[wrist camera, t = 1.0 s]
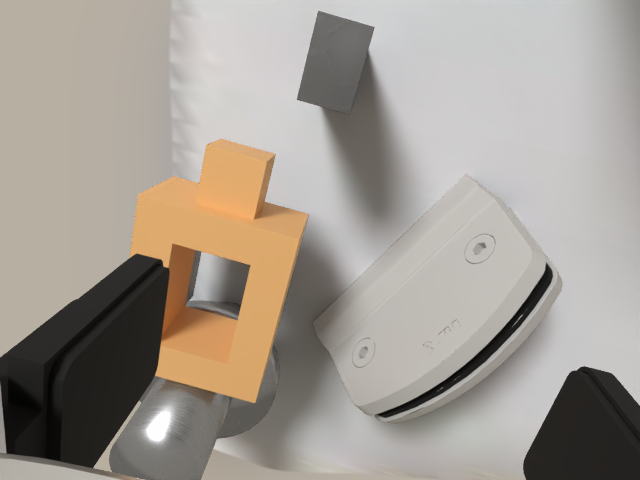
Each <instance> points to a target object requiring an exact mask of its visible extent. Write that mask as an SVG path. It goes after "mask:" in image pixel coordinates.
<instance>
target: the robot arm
mask: <svg viewBox="0 0 640 480" xmlns="http://www.w3.org/2000/svg"><path fill="white" fill-rule="evenodd" d="M169 276H170V270H169V268H167V267H163V261H162V260H161V259H157V258H153V257H149V256H145V255H141V254H137V253H136V254H135V255H133V256H132V257H131V258H129V259H128V260H127V261H126V262H124V263H123V264H122V265H120V266H119V267H118V268H117V269H115V270H114V271H113V272H112V273H110V274H109V275H108V276H107V277H105V278H104V279H103V280H101V281H100V282H99V283H98V284H96V285H95V286H94V287H93V288H92V289H90V290H89V291H88V292H86V293H85V294H84V295H83V296H81V297H80V298H79V299H76V300H74V301H72V302H71V303H70V304H68V305H67V306H66V307H64V308H63V309H62V310H60V311H59V312H58V313H57V314H55V315H54V316H53V317H51V318H50V319H49V320H48V321H46V322H45V323H44V324H43V325H41V326H40V327H39V328H37V329H36V330H35V331H34V332H33V333H31V334H30V335H29V336H27V337H26V338H25V339H24V340H22V341H21V342H20V343H18V344H17V345H16V346H14V347H13V348H12V349H11V350H9V351H8V352H7V353H6V354H4V355H3V356H2V357H0V480H144V479H139V478H135V477H131V476H127V475H123V474H118V473H113V472H109V471H104V470H99V469H94V468H93V467H94V465H95V464H96V463H97V461H98V459H99V458H100V457H101V455H102V454H103V452H104V451H105V449H106V448H107V446H108V445H109V443H110V442H111V440H112V439H113V438H114V436H115V434H116V433H117V432H118V430H119V429H120V427H121V426H122V424H123V423H124V421H125V420H126V419H127V417H128V416H129V414H130V413H131V411H132V410H133V408H134V407H135V405H136V404H137V402H138V401H139V400H140V398H141V397H142V395H143V394H144V392H145V391H146V389H147V388H148V386H149V385H150V383H151V382H152V380H153V378H154V376H155V374H156V371H157V367H158V361H159V354H160V346H161V338H162V330H163V323H164V315H165V307H166V299H167V292H168V284H169ZM523 470H524V475H525V478H526V480H640V406H639V405H638V403H637V402H636V401H635V400H634V399H633V397H632V396H631V395H630V394H629V393H628V391H627V390H626V389H625V388H624V387H623V385H622V384H621V383H620V382H619V381H618V380H617V378H616V377H615V376H614V375H613V374H611V373H609V372H605V371H601V370H597V369H593V368H589V367H585V366H584V367H580V368H579V369H578V370H577V371H572V372H571V373H569V375H568V376H567V378H566V380H565V382H564V384H563V386H562V388H561V390H560V392H559V394H558V396H557V397H556V399H555V401H554V403H553V405H552V407H551V409H550V411H549V413H548V415H547V417H546V418H545V420H544V422H543V424H542V426H541V428H540V430H539V432H538V434H537V436H536V437H535V439H534V441H533V443H532V445H531V447H530V449H529V451H528V453H527V455H526V457H525V459H524V464H523Z"/></svg>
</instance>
